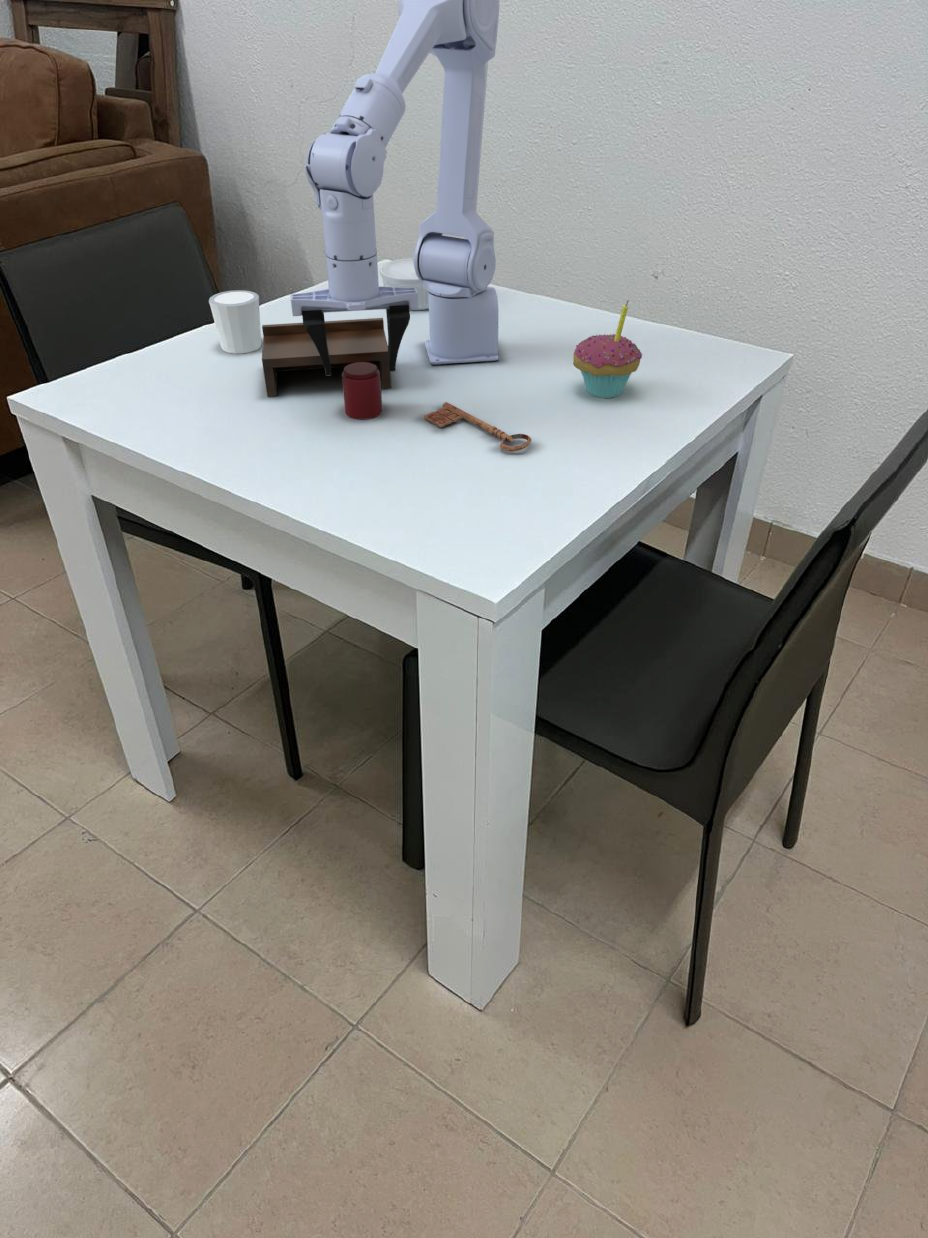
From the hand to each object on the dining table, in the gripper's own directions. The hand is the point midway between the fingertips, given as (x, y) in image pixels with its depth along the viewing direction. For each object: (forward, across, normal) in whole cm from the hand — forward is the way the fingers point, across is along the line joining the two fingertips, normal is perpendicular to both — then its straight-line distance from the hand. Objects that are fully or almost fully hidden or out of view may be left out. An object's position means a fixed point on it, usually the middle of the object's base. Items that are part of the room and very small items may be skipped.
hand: (360, 370), depth 111 cm
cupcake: (+6, +31, +1) cm, 32 cm away
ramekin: (+5, +11, +40) cm, 42 cm away
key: (+5, +13, -8) cm, 16 cm away
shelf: (+5, -4, +11) cm, 13 cm away
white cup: (+6, -16, +25) cm, 30 cm away
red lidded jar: (+5, 0, 0) cm, 5 cm away
